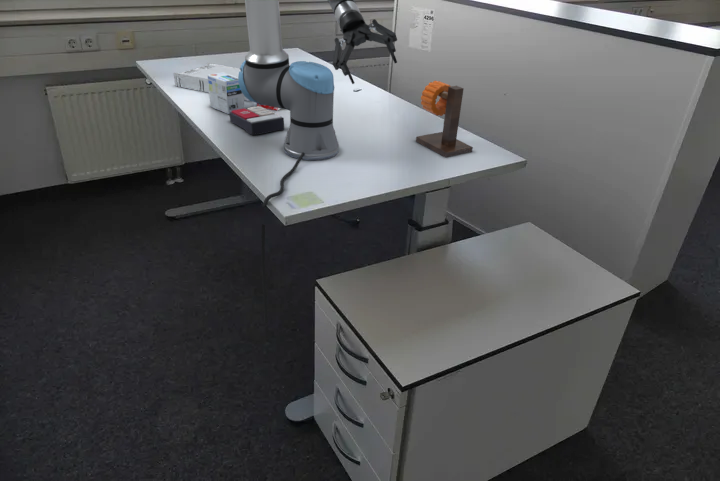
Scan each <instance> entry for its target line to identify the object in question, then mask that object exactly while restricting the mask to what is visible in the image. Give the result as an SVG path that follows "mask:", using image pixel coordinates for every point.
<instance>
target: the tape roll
mask: <svg viewBox="0 0 720 481" xmlns="http://www.w3.org/2000/svg"><path fill="white" fill-rule="evenodd" d="M451 86H452V85H450V84H448V83H445V82H442V81H440V80H433V81H430V82H428V85H426V86H425V87H424V89H423V91H422V92H421V96H420V101H421V102H420V105H421V106H422V109H423V110H425V111H426V112H428V113H430V114H432V115H434V116H436V117H438V116H440V117H442V116H444V115H445V110H446V103H447V100H446V99H444V98H442V97H439V96H438V95H439V94H440V93H441V92H443V91H446V92H448V87H451ZM438 97H439V99H438ZM437 99H438V101H437Z"/></svg>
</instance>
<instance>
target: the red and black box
mask: <svg viewBox="0 0 720 481" xmlns="http://www.w3.org/2000/svg"><path fill="white" fill-rule="evenodd" d="M229 121H230V123H233V124H234V125H235V126H238V127H240V128H241V129H243V130H245V132H246V133H247V134H250V135H252V136H258V135H262V134H267V133H273V132H277V131H283V130H284V129H285V118H284V117H283V116H282V115H279V114H277V113H276V112H275V111H273V110H271V109H266V108H263V107H261V106H257V105H256V106H251V107H246V108H244V109H238V110H232V111H231V112H230V114H229Z"/></svg>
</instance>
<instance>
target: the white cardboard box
mask: <svg viewBox="0 0 720 481" xmlns="http://www.w3.org/2000/svg"><path fill="white" fill-rule="evenodd" d="M221 72H224V73H227V74H230V75H233V76H236V77H238V75H239V72H241V70H240V67H235V66H228V65H223V64H217V63H212V62H207V63H206V65H203V66H199V67H196V68H192V69H189V70H185V71H182V72H173V79H174V86H175V87H179V88H185V89H190V90H194V91H198V92H203V93H207V94H209V86H208V76H207V75H209V74H215V73H221ZM244 101H247V102H251V101H250V100H248V99H247V98H246V97H245V96H244Z"/></svg>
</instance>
